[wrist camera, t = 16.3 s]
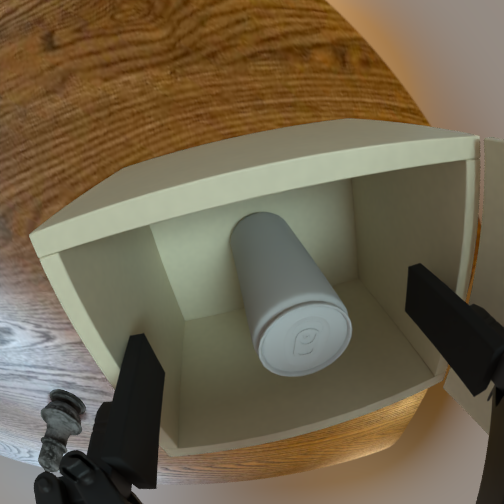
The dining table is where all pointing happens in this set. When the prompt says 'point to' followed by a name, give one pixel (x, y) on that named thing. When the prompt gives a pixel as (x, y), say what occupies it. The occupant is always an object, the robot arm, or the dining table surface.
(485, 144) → the box lid
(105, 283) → the cream box
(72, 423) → the chess piece
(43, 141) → the dining table surface
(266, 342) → the beverage can
